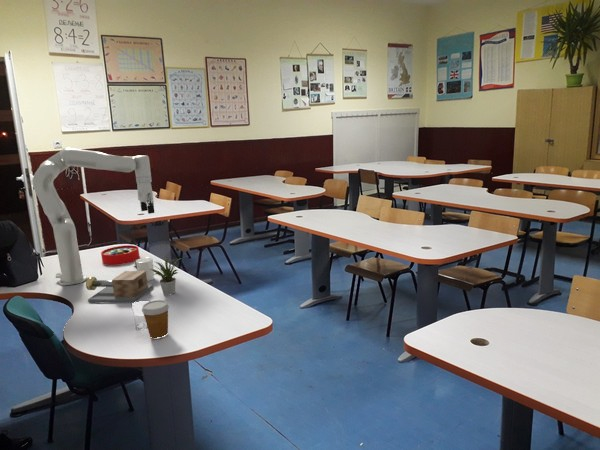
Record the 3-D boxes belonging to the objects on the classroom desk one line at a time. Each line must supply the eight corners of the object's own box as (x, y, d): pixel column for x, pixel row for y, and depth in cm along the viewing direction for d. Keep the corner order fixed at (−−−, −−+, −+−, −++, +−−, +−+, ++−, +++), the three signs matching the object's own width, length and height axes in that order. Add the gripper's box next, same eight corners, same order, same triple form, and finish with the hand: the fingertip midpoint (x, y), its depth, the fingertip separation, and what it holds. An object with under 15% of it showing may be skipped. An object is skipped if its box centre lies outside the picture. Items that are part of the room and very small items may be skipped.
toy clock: (144, 249, 276) (109, 257, 263) (145, 259, 277) (110, 268, 265) (129, 243, 291) (95, 251, 278) (130, 252, 292) (97, 261, 279)
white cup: (158, 278, 242) (155, 259, 240) (143, 283, 236) (141, 263, 234) (149, 275, 247) (147, 256, 245) (135, 279, 242) (132, 260, 239)
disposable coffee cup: (140, 338, 177) (135, 307, 174) (159, 327, 185) (155, 298, 182) (158, 343, 172) (154, 311, 169) (178, 332, 180) (174, 302, 177)
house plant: (176, 284, 232) (172, 251, 228) (192, 290, 222) (188, 256, 218) (149, 293, 222) (144, 258, 218) (164, 300, 212) (160, 264, 209)
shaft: (86, 292, 221) (84, 279, 220) (94, 287, 227) (92, 275, 225) (123, 292, 218) (121, 279, 217) (130, 287, 224) (128, 275, 222)
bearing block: (114, 296, 216) (111, 279, 214) (127, 287, 227) (125, 271, 226) (135, 296, 214) (133, 279, 212) (147, 287, 226) (145, 270, 224)
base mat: (88, 302, 215) (87, 299, 215) (109, 287, 232) (109, 284, 232) (134, 302, 212) (134, 299, 211) (153, 287, 229) (152, 284, 228)
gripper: (131, 179, 257) (135, 211, 261) (142, 181, 243) (146, 215, 247) (144, 177, 261) (148, 208, 265) (157, 180, 248) (161, 213, 252)
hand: (147, 212), depth 256 cm, fingers open, 9 cm apart
